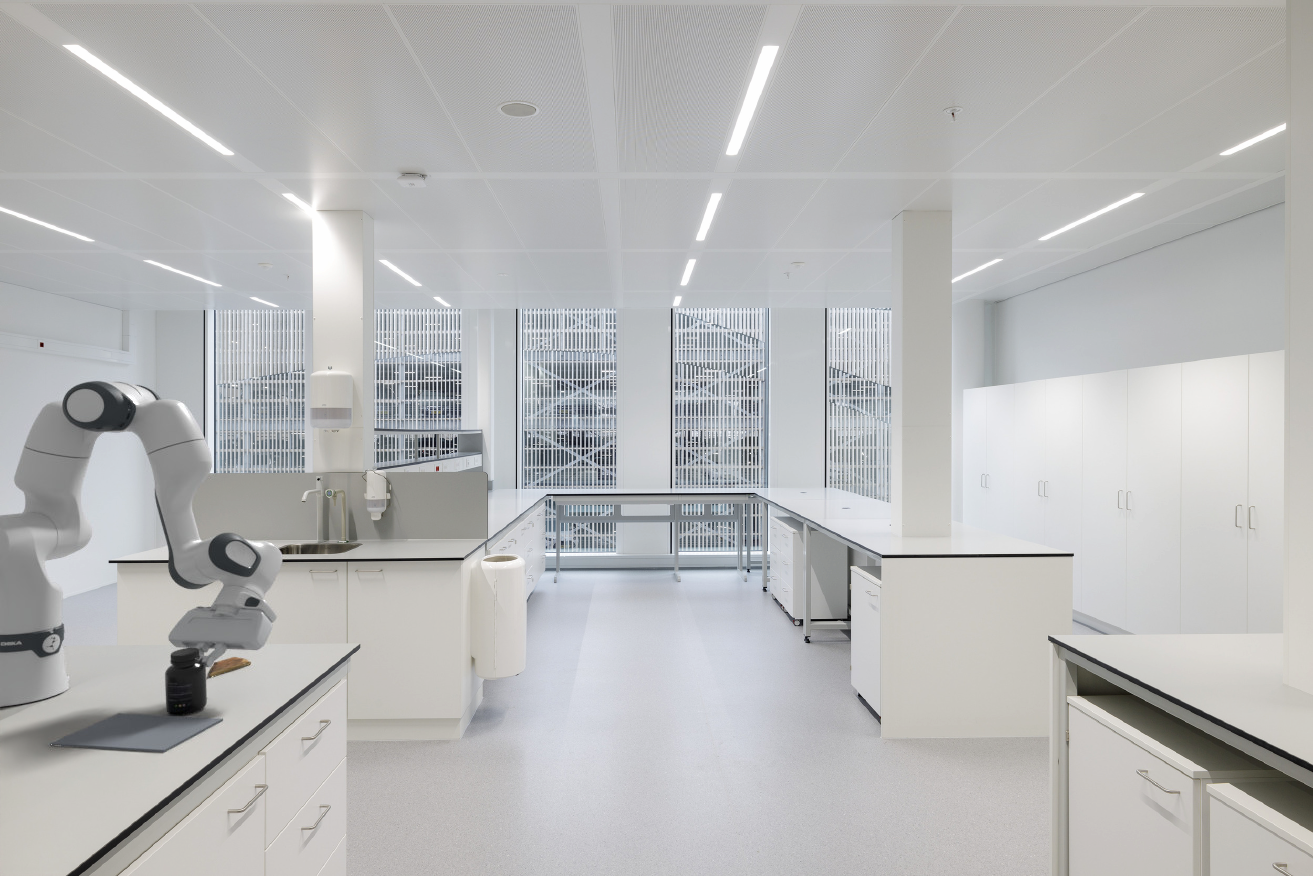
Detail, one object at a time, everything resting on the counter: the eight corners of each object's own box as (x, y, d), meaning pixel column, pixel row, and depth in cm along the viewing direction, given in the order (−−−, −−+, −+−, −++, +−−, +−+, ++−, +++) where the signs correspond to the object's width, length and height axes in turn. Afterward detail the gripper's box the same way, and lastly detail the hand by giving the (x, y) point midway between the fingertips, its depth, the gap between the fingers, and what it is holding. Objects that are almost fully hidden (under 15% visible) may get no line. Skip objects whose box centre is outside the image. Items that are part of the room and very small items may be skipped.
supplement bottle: (173, 704, 138) (172, 647, 138) (211, 700, 140) (210, 644, 140) (159, 719, 132) (158, 659, 131) (200, 714, 134) (199, 655, 133)
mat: (49, 745, 119) (49, 743, 119) (119, 715, 133) (119, 713, 133) (164, 752, 117) (164, 750, 117) (222, 720, 131) (223, 718, 131)
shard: (209, 680, 155) (209, 672, 155) (186, 676, 158) (187, 668, 158) (252, 666, 165) (252, 659, 166) (230, 663, 168) (230, 655, 168)
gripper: (183, 598, 148) (145, 656, 138) (271, 601, 147) (239, 660, 137) (198, 614, 153) (162, 671, 143) (284, 616, 151) (253, 674, 141)
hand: (201, 665), depth 140 cm, fingers closed
